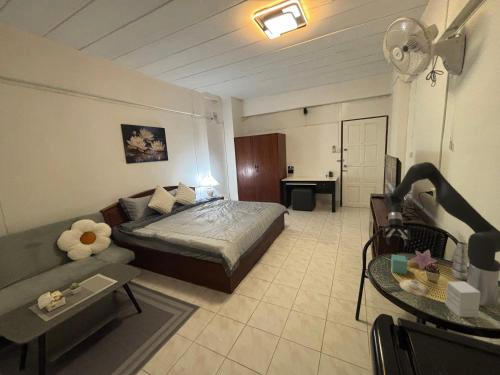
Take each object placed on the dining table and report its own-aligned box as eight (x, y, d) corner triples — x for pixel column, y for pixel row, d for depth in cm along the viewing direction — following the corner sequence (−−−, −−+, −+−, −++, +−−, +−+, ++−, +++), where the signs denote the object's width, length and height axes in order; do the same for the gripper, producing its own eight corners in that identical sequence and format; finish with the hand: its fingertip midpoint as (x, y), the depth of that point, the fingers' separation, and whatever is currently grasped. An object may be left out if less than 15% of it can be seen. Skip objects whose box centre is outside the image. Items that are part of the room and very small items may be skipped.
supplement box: (462, 306, 94) (465, 281, 92) (478, 319, 87) (481, 292, 84) (444, 306, 95) (446, 281, 92) (458, 319, 87) (461, 292, 85)
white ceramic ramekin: (418, 286, 107) (418, 281, 106) (418, 290, 104) (418, 284, 103) (409, 284, 109) (409, 278, 108) (409, 288, 106) (409, 282, 106)
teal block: (390, 267, 126) (391, 254, 124) (404, 269, 123) (405, 256, 121) (392, 273, 120) (393, 259, 118) (406, 275, 117) (407, 262, 115)
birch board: (428, 286, 108) (428, 284, 107) (429, 300, 98) (430, 298, 98) (399, 279, 115) (400, 277, 115) (398, 291, 106) (398, 289, 105)
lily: (406, 267, 127) (412, 258, 121) (410, 253, 133) (416, 244, 127) (430, 278, 120) (438, 270, 114) (433, 263, 127) (441, 254, 120)
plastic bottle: (449, 278, 112) (453, 244, 108) (450, 273, 117) (454, 239, 113) (467, 283, 107) (471, 247, 104) (467, 277, 112) (471, 242, 108)
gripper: (382, 217, 135) (383, 241, 127) (410, 218, 129) (412, 244, 121) (381, 222, 141) (382, 245, 133) (407, 224, 134) (410, 248, 126)
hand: (397, 244), depth 127 cm, fingers open, 8 cm apart
